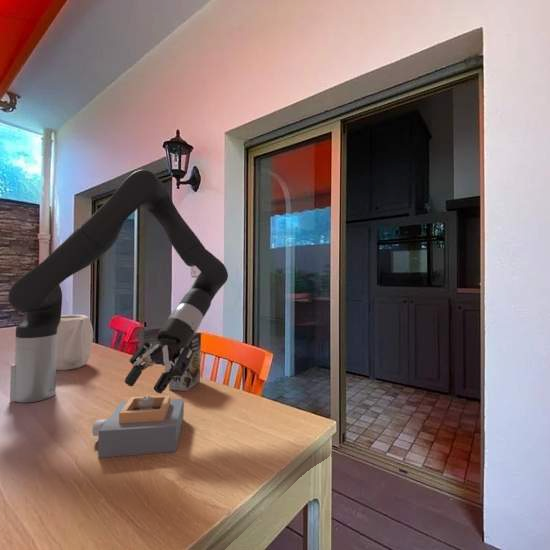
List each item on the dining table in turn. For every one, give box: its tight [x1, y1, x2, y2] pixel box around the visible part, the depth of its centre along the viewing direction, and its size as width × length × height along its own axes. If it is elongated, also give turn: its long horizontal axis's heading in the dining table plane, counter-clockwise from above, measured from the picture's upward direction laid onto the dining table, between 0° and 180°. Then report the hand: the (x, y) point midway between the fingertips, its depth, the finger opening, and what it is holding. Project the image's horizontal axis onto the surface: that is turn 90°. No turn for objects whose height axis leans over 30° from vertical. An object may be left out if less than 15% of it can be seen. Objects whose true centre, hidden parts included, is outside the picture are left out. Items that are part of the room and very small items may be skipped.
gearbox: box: [92, 394, 185, 459], centre depth 67 cm, size 17×14×7 cm
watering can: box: [56, 314, 94, 371], centre depth 115 cm, size 16×27×19 cm, turn 49°
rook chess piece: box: [138, 395, 154, 410], centre depth 67 cm, size 4×4×8 cm
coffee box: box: [168, 332, 202, 392], centre depth 98 cm, size 9×6×16 cm
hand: (142, 388), depth 66 cm, fingers open, 8 cm apart
